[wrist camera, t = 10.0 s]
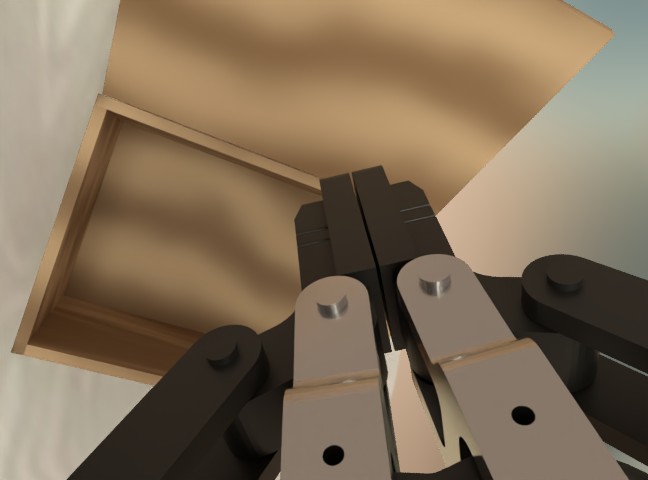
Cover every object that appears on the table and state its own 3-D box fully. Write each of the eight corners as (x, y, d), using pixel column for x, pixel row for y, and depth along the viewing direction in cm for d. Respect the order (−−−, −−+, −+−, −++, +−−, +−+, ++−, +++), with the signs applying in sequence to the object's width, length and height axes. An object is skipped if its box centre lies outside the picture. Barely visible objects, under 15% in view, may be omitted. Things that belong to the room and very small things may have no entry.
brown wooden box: (310, 367, 45) (354, 431, 34) (53, 299, 38) (10, 352, 28) (369, 206, 44) (432, 221, 33) (117, 110, 38) (98, 93, 27)
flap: (614, 35, 23) (610, 27, 24) (164, -226, 17) (168, -230, 18) (431, 220, 33) (430, 212, 34) (102, 93, 27) (106, 86, 28)
